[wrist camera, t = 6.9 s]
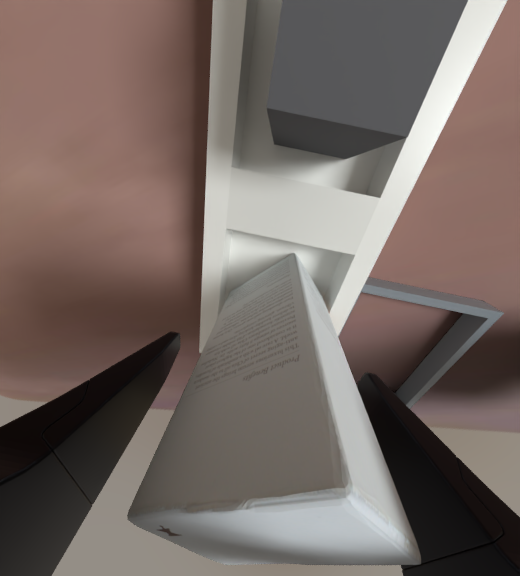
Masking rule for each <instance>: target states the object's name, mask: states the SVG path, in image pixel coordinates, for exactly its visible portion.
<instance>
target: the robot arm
mask: <svg viewBox="0 0 520 576" xmlns="http://www.w3.org/2000/svg"><path fill="white" fill-rule="evenodd" d="M179 349H180V334H179V333H176V332H169V333H167V334H166V335H164V336H162V337H161V338H159V339H157V340H156V341H154V342H152V343H150V344H149V345H147V346H145V347H144V348H142V349H140V350H139V351H137V352H135V353H133V354H132V355H130V356H128V357H127V358H125V359H123V360H122V361H120V362H118V363H116V364H115V365H113V366H111V367H110V368H108V369H106V370H105V371H103V372H101V373H99V374H98V375H96V376H94V377H93V378H91V379H90V381H89V380H87V381H86V382H84V383H82V384H81V385H79V386H77V387H75V388H74V389H72V390H70V391H68V392H67V393H65V394H63V395H61V396H60V397H58V398H56V399H54V400H52V401H50V402H48V403H46V404H45V405H43V406H41V407H39V408H37V409H35V410H33V411H31V412H29V413H27V414H25V415H23V416H21V417H19V418H17V419H15V420H13V421H11V422H9V423H8V424H6V425H4V426H2V427H0V576H52V574H53V572H54V570H55V569H56V567H57V565H58V564H59V562H60V560H61V558H62V557H63V555H64V553H65V552H66V550H67V548H68V546H69V545H70V543H71V541H72V540H73V538H74V536H75V535H76V533H77V531H78V529H79V528H80V526H81V524H82V522H83V521H84V519H85V517H86V516H87V514H88V512H89V511H90V509H91V507H92V504H93V503H94V502H95V500H96V498H97V497H98V495H99V493H100V492H101V490H102V488H103V486H104V485H105V483H106V481H107V480H108V478H109V476H110V474H111V473H112V471H113V469H114V468H115V466H116V464H117V463H118V461H119V459H120V457H121V456H122V454H123V452H124V451H125V449H126V447H127V445H128V444H129V442H130V440H131V439H132V437H133V435H134V434H135V432H136V430H137V428H138V427H139V425H140V423H141V421H142V420H143V418H144V416H145V415H146V413H147V411H148V410H149V408H150V406H151V404H152V403H153V401H154V399H155V398H156V396H157V394H158V393H159V391H160V389H161V387H162V386H163V384H164V382H165V380H166V378H167V376H168V374H169V372H170V369H171V367H172V365H173V363H174V361H175V358H176V356H177V354H178V352H179ZM358 391H359V394H360V396H361V399H362V401H363V404H364V407H365V409H366V412H367V414H368V417H369V419H370V422H371V425H372V427H373V430H374V433H375V435H376V438H377V441H378V443H379V446H380V449H381V451H382V454H383V456H384V459H385V462H386V464H387V467H388V469H389V472H390V474H391V477H392V480H393V482H394V485H395V487H396V490H397V493H398V495H399V498H400V500H401V503H402V506H403V508H404V511H405V513H406V516H407V519H408V521H409V524H410V526H411V529H412V532H413V534H414V537H415V539H416V542H417V545H418V549H419V552H420V555H421V564H418V565H401V568H402V569H403V570H402V572H403V576H520V517H519V516H518V515H516V513H514V512H513V511H512V510H511V509H510V508H509V507H508V506H507V505H506V504H505V503H504V502H503V501H502V500H501V499H499V497H498V496H496V495H495V494H494V493H493V492H492V491H491V490H490V489H489V488H488V487H487V486H486V485H485V484H484V483H483V482H482V481H481V480H480V479H479V478H478V477H477V476H476V475H475V474H474V473H473V472H471V470H470V469H469V468H468V467H467V466H466V465H465V464H464V463H463V462H462V461H461V460H460V459H459V458H457V457H456V455H455V454H454V453H453V452H452V451H451V450H450V449H449V448H448V447H447V446H446V445H445V444H444V443H443V442H442V441H441V440H440V439H439V438H438V437H437V436H436V435H435V434H434V433H433V432H432V431H431V430H430V429H429V428H428V427H427V426H426V425H425V424H424V423H423V422H422V421H421V420H420V419H419V418H418V417H417V416H416V415H415V414H414V413H413V412H412V411H411V410H410V409H409V408H408V407H407V406H406V405H405V404H404V403H403V402H402V401H401V400H400V399H399V398H398V397H397V396H396V395H395V394H394V393H393V392H392V391H391V390H390V389H389V388H388V387H387V386H386V385H385V383H384V382H383V381H382V380H381V379H380V378H379V377H378V376H377V375H375V374H372V373H365V374H364V375H363V376H362V378H361V379H360V381H359V382H358Z"/></svg>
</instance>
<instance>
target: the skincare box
mask: <svg viewBox="0 0 520 576" xmlns="http://www.w3.org/2000/svg"><path fill="white" fill-rule="evenodd" d="M127 516H128V520H129V521H130V522H132V523H133V524H134V525H136V526H138V527H140V528H142V529H144V530H146V531H149V532H151V533H153V534H155V535H158V536H160V537H162V538H164V539H166V540H169V541H171V542H173V543H175V544H177V545H179V546H182V547H184V548H186V549H188V550H190V551H192V552H195V553H197V554H199V555H201V556H203V557H206V558H208V559H211V560H213V561H216V562H219V563H222V564H225V565H242V564H283V563H286V564H305V565H418V564H421V555H420V552H419V549H418V545H417V542H416V539H415V537H414V534H413V532H412V529H411V526H410V524H409V521H408V519H407V516H406V513H405V511H404V508H403V506H402V503H401V500H400V498H399V495H398V493H397V490H396V487H395V485H394V482H393V480H392V477H391V474H390V472H389V469H388V467H387V464H386V462H385V459H384V456H383V454H382V451H381V449H380V446H379V443H378V441H377V438H376V435H375V433H374V430H373V427H372V425H371V422H370V419H369V417H368V414H367V412H366V409H365V407H364V404H363V401H362V399H361V396H360V394H359V391H358V389H357V386H356V383H355V381H354V378H353V375H352V373H351V370H350V368H349V365H348V362H347V360H346V357H345V354H344V352H343V349H342V347H341V344H340V341H339V339H338V336H337V333H336V331H335V328H334V326H333V323H332V320H331V318H330V315H329V312H328V310H327V307H326V304H325V302H324V299H323V297H322V295H321V293H320V292H319V290H318V289H317V287H316V285H315V284H314V282H313V280H312V279H311V277H310V275H309V274H308V272H307V270H306V269H305V267H304V265H303V264H302V262H301V261H300V259H299V257H298V256H297V255H296V254H295V253H293V254H291V255H290V256H288V257H287V258H285V259H283V260H282V261H280V262H278V263H277V264H275V265H273V266H272V267H270V268H268V269H267V270H265V271H263V272H262V273H260V274H259V275H257V276H255V277H254V278H252V279H250V280H249V281H247V282H246V283H244V284H242V285H241V286H239V287H237V288H236V289H234V290H232V291H231V292H230V293H229V295H228V297H227V299H226V301H225V303H224V305H223V308H222V310H221V312H220V314H219V316H218V318H217V321H216V323H215V325H214V327H213V329H212V332H211V334H210V336H209V338H208V340H207V342H206V345H205V347H204V349H203V351H202V353H201V355H200V358H199V360H198V362H197V364H196V366H195V368H194V370H193V373H192V375H191V377H190V379H189V381H188V383H187V386H186V388H185V390H184V392H183V394H182V397H181V399H180V401H179V403H178V405H177V407H176V409H175V411H174V414H173V416H172V418H171V420H170V422H169V424H168V427H167V429H166V431H165V433H164V435H163V437H162V439H161V441H160V444H159V446H158V448H157V450H156V452H155V454H154V457H153V459H152V461H151V463H150V465H149V468H148V470H147V472H146V474H145V477H144V479H143V481H142V483H141V485H140V487H139V489H138V492H137V494H136V496H135V498H134V500H133V503H132V505H131V507H130V509H129V512H128V515H127Z"/></svg>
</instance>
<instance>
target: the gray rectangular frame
mask: <svg viewBox="0 0 520 576" xmlns="http://www.w3.org/2000/svg"><path fill="white" fill-rule="evenodd" d="M361 292H364V293H369V294H374V295H378V296H383V297H388V298H393V299H398V300H403V301H407V302H412V303H417V304H422V305H427V306H431V307H436V308H441V309H446V310H451V311H456V312H460V313H463V315H462V316H461V317H460V318H459V319H458V320H457V322H456V323H455V324H454V325H453V326H452V327H451V329H450V330H449V331H448V332H447V333H446V334H445V336H444V337H443V338H442V339H441V340H440V341H439V343H438V344H437V345H436V346H435V347H434V348H433V350H432V351H431V352H430V353H429V354H428V355H427V357H426V358H425V359H424V360H423V361H422V362H421V364H420V365H419V366H418V367H417V368H416V369H415V371H414V372H413V373H412V374H411V375H410V376H409V378H408V379H407V380H406V381H405V382H404V383H403V385H402V386H401V387H400V388H399V389H398V390H397V392H396V393H394V392H393V393H394V394H395V395H396V396H397V397H398V398H399V399H400V400H401V401H402V402H403V403H404V404H405V405H406V406H407V407H408V408H409V409H410V408H411V407H412V406H413V405H414V404H415V403H416V402H417V401H418V400H419V399H420V398H421V397H422V396H423V395H424V394H425V393H426V392H427V391H428V390H429V389H430V388H431V387H432V386H433V385H434V384H435V383H436V382H437V381H438V380H439V379H440V378H441V377H442V376H443V375H444V374H445V373H446V372H447V371H448V370H449V369H450V368H451V367H452V366H453V365H454V364H455V362H456V361H457V360H458V359H459V358H460V357H461V356H462V355H463V354H464V353H465V352H466V351H467V350H468V349H469V348H470V347H471V346H472V345H473V344H474V343H475V342H476V341H477V340H478V339H479V338H480V337H481V336H482V335H483V334H484V333H485V332H486V331H487V330H488V329H489V328H490V327H491V326H492V325H493V324H494V323H495V322H496V321H497V320H498V319H499V318H500V317H501V316H502V315H503V314H504V313H503V312H501V311H500V310H498V309H496V308H495V307H493V306H491V305H490V304H488V303H486V302H484V301H481V300H476V299H471V298H467V297H462V296H457V295H452V294H447V293H443V292H438V291H433V290H428V289H423V288H418V287H414V286H409V285H404V284H399V283H394V282H390V281H385V280H380V279H375V278H370V277H368V278H367V280H366V282H365V284H364V286H363V288H362V290H361ZM361 292H360V293H361ZM359 295H360V294H359ZM358 297H359V296H358ZM357 299H358V298H357ZM356 301H357V300H356ZM355 303H356V302H355ZM354 305H355V304H354ZM353 307H354V306H353ZM352 309H353V308H352ZM351 311H352V310H351ZM350 313H351V312H350ZM349 315H350V314H349ZM348 317H349V316H348ZM347 319H348V318H347ZM346 321H347V320H346ZM345 323H346V322H345ZM344 325H345V324H344ZM343 327H344V326H343ZM342 329H343V328H342ZM341 331H342V330H341ZM340 333H341V332H340ZM339 335H340V334H339ZM338 337H339V336H338ZM356 386H357V389H358V385H356Z"/></svg>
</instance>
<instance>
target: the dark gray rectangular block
mask: <svg viewBox="0 0 520 576" xmlns="http://www.w3.org/2000/svg"><path fill="white" fill-rule="evenodd" d="M467 2H468V0H282V7H281V14H280V20H279V27H278V34H277V40H276V47H275V54H274V61H273V67H272V74H271V81H270V87H269V94H268V101H267V113H268V118H269V122H270V127H271V132H272V137H273V142H274V144H275V145H279V146H284V147H289V148H294V149H299V150H304V151H308V152H313V153H318V154H323V155H328V156H332V157H337V158H342V159H348V158H351V157H354V156H356V155H359V154H362V153H365V152H368V151H370V150H373V149H376V148H379V147H382V146H384V145H387V144H390V143H393V142H396V141H398V140H401V139H404V138H407V137H408V135H409V133H410V131H411V129H412V126H413V124H414V122H415V120H416V117H417V115H418V113H419V110H420V108H421V106H422V104H423V101H424V99H425V97H426V95H427V92H428V90H429V88H430V86H431V83H432V81H433V79H434V77H435V74H436V72H437V70H438V67H439V65H440V63H441V61H442V58H443V56H444V54H445V52H446V49H447V47H448V45H449V43H450V40H451V38H452V36H453V34H454V31H455V29H456V27H457V24H458V22H459V20H460V18H461V15H462V13H463V11H464V9H465V6H466V4H467Z"/></svg>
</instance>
